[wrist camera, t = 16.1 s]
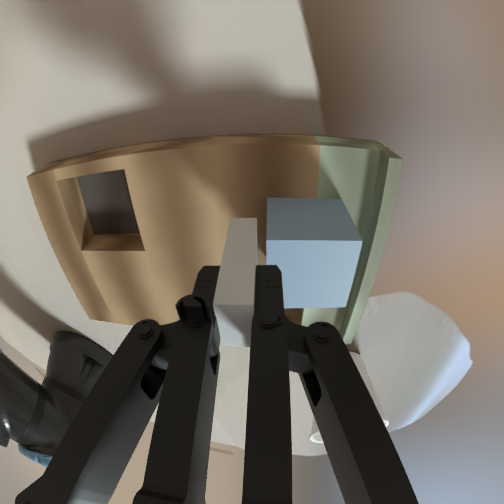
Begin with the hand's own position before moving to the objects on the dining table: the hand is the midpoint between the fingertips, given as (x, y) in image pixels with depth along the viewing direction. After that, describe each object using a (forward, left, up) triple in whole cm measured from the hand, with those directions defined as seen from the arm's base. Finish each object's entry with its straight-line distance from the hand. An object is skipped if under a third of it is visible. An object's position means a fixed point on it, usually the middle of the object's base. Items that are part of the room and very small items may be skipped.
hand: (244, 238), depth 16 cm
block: (+4, -1, -3) cm, 5 cm away
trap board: (-5, -4, -6) cm, 9 cm away
